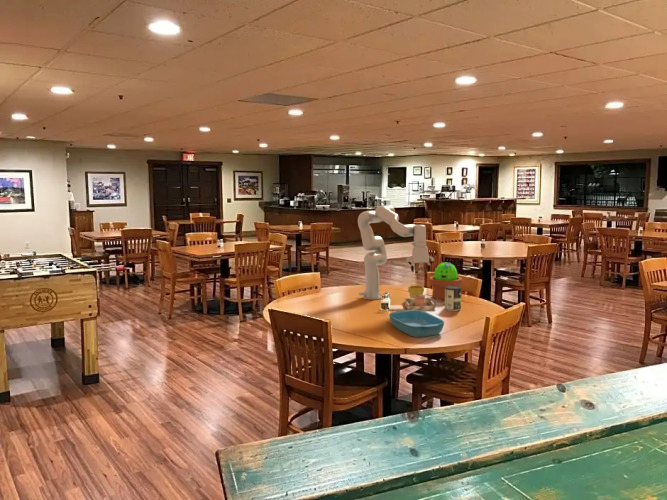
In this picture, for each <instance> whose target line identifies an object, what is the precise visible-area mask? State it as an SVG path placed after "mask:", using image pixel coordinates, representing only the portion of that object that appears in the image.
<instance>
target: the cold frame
mask: <svg viewBox="0 0 667 500" xmlns="http://www.w3.org/2000/svg"><path fill="white" fill-rule="evenodd" d="M404 304H405V305H404V307H405V308H406V309H407V310H420V311H435V310H436V304H435V303H434V302H433V301H432V297H425V306H415V298H410V297H409V298H405V299H404Z"/></svg>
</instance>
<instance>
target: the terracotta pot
mask: <svg viewBox="0 0 667 500" xmlns="http://www.w3.org/2000/svg"><path fill="white" fill-rule="evenodd" d="M414 297H415V306H425V298H426V295H425V294H422V295H414Z"/></svg>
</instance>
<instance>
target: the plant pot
mask: <svg viewBox="0 0 667 500" xmlns="http://www.w3.org/2000/svg"><path fill="white" fill-rule="evenodd" d="M407 292H408V294H409V298H415V297H414V295H424V294H423V293H424V292H425V287H424V286H422V285H409V286H408V288H407Z"/></svg>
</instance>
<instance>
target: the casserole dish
mask: <svg viewBox="0 0 667 500" xmlns="http://www.w3.org/2000/svg"><path fill="white" fill-rule="evenodd" d="M388 317H389V319H390V323H391V324H392V326H393V327H394V328H396V329H398V330H399V331H401V332H403V333H405V334H407V335H408V336H411V337H415V338H421V337H422V338H423V337H431V336H437V335H439V334H440V333H441V332H442V330H443V328H444V326H445V321H444V320H443V319H442V318H440V317H438V316H435V315H433V314H431V313H429V312H426V311H425V310H408V309H407V310H395V311H394V312H390V313H388Z"/></svg>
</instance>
